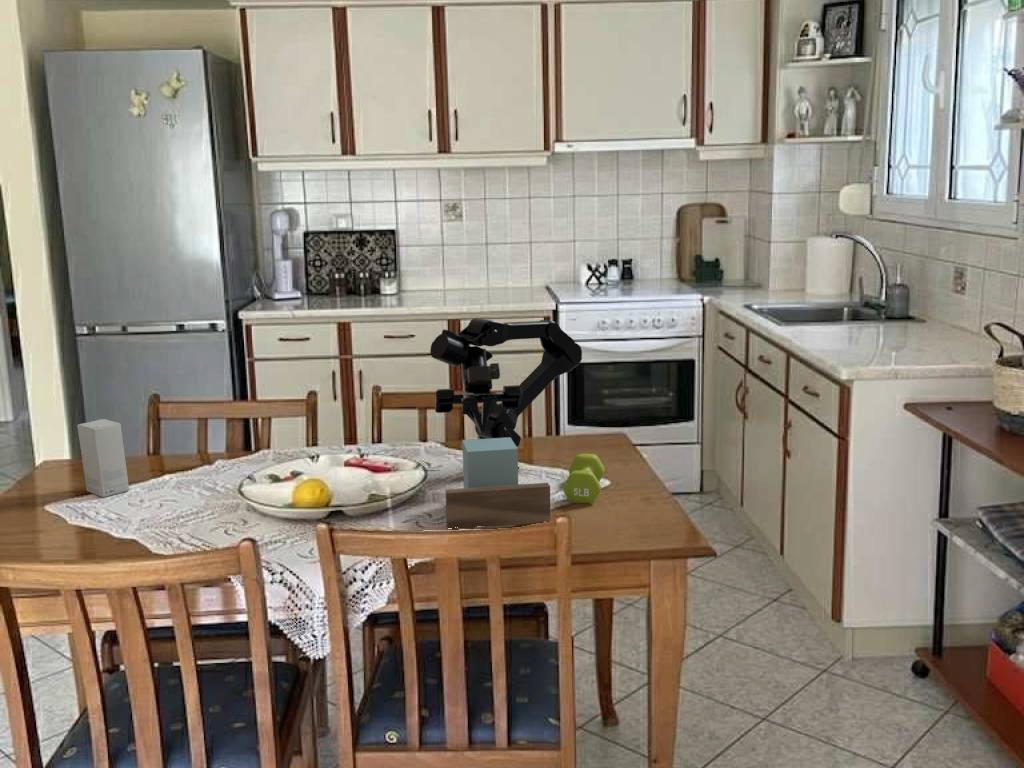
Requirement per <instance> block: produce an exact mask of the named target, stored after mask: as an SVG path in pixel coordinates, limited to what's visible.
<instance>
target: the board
mask: <svg viewBox="0 0 1024 768" xmlns="http://www.w3.org/2000/svg"><path fill="white" fill-rule="evenodd" d="M550 485H551V484H550V483H549V482H539V483H538V482H537V483H524V484H523V483H522V484H518V485H505V486H490V487H475V488H464V487H463V488H450V489H445V518H446V519H445V520H446V528H447V527H448V528H452V529H451V530H458V529H457V527H458V528H465V529H475V527H477V526H486V527H485V528H488V527H487V526H492V527H503V526H505V527H506V526H516V525H517V526H519V525H532V524H531V523H533V524H538V523H537V522H544V521H550V520H551V517H552V516H551V486H550ZM455 527H456V528H455ZM448 528H447V529H448Z"/></svg>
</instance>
